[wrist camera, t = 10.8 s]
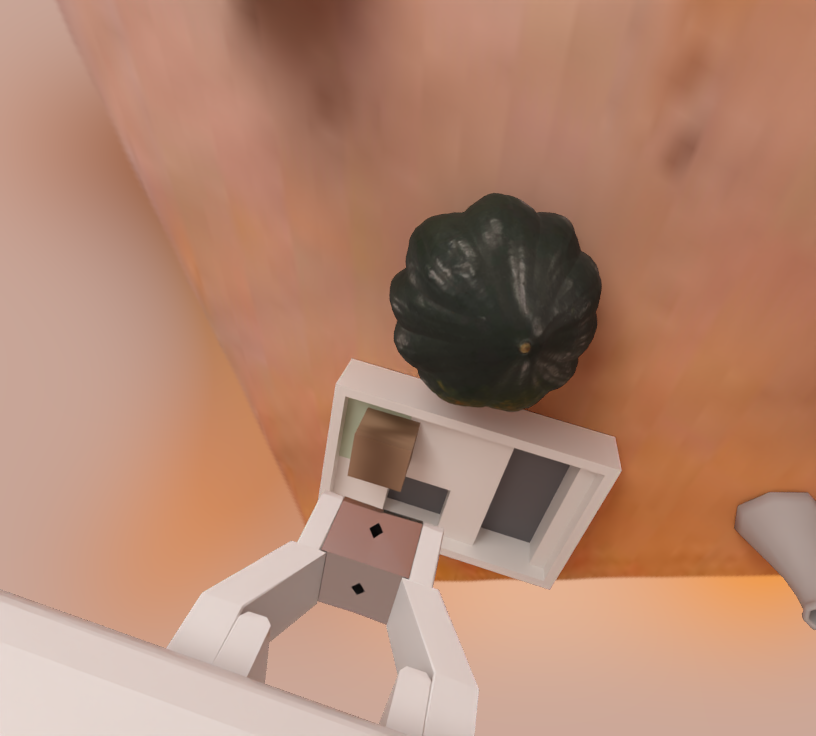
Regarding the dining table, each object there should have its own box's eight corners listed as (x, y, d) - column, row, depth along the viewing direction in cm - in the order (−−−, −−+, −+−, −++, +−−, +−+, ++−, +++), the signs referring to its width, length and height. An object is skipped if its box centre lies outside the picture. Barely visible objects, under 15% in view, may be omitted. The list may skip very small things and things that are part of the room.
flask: (742, 551, 49) (783, 651, 41) (723, 498, 47) (762, 593, 38) (832, 537, 46) (896, 643, 38) (816, 480, 44) (881, 579, 35)
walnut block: (420, 422, 46) (411, 451, 43) (410, 462, 49) (400, 492, 45) (367, 407, 47) (354, 434, 43) (360, 447, 49) (347, 475, 46)
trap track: (615, 437, 46) (621, 470, 42) (549, 553, 55) (549, 589, 51) (352, 358, 48) (335, 383, 44) (330, 483, 57) (316, 513, 53)
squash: (354, 366, 42) (456, 485, 31) (363, 173, 34) (503, 238, 23) (492, 341, 48) (617, 431, 37) (525, 174, 41) (693, 225, 30)
